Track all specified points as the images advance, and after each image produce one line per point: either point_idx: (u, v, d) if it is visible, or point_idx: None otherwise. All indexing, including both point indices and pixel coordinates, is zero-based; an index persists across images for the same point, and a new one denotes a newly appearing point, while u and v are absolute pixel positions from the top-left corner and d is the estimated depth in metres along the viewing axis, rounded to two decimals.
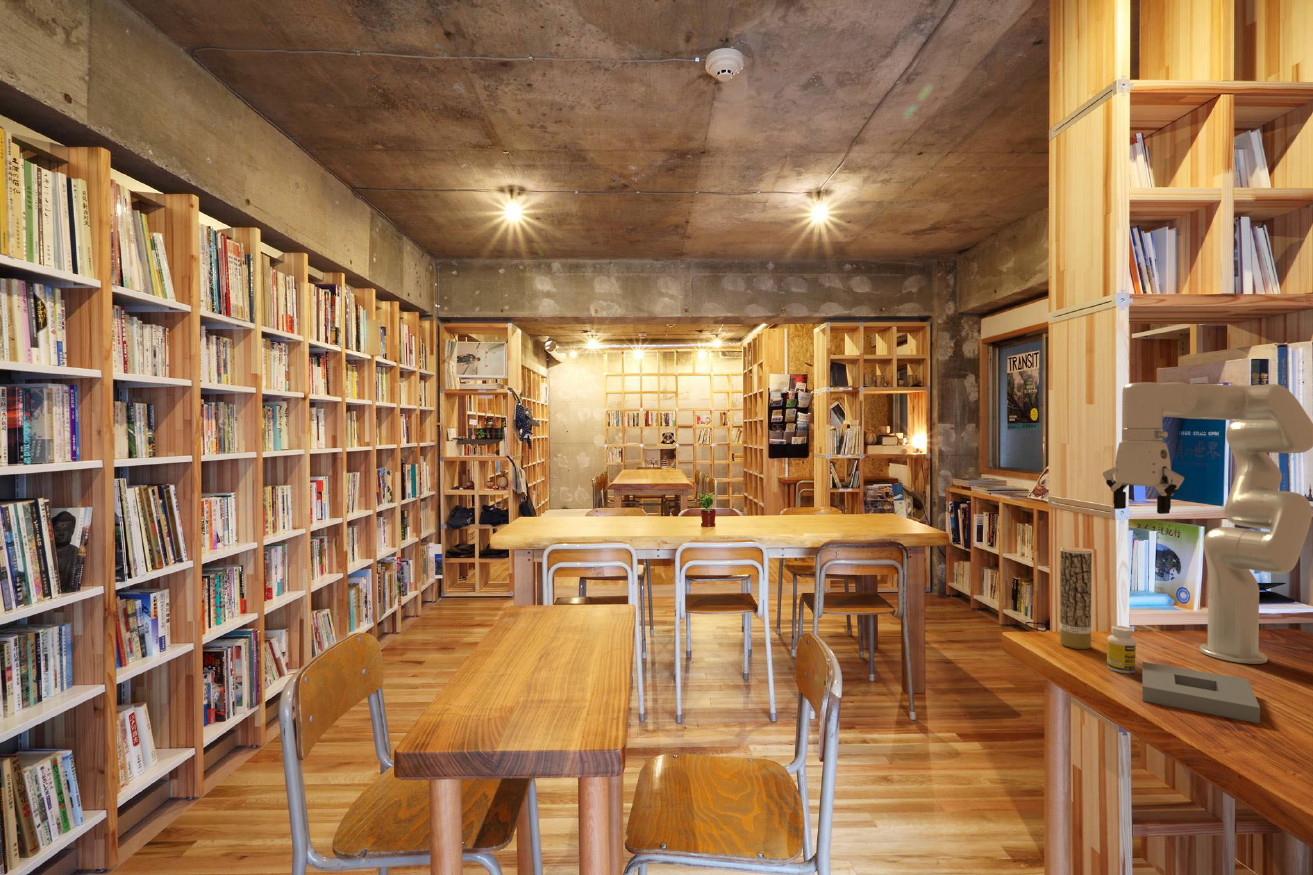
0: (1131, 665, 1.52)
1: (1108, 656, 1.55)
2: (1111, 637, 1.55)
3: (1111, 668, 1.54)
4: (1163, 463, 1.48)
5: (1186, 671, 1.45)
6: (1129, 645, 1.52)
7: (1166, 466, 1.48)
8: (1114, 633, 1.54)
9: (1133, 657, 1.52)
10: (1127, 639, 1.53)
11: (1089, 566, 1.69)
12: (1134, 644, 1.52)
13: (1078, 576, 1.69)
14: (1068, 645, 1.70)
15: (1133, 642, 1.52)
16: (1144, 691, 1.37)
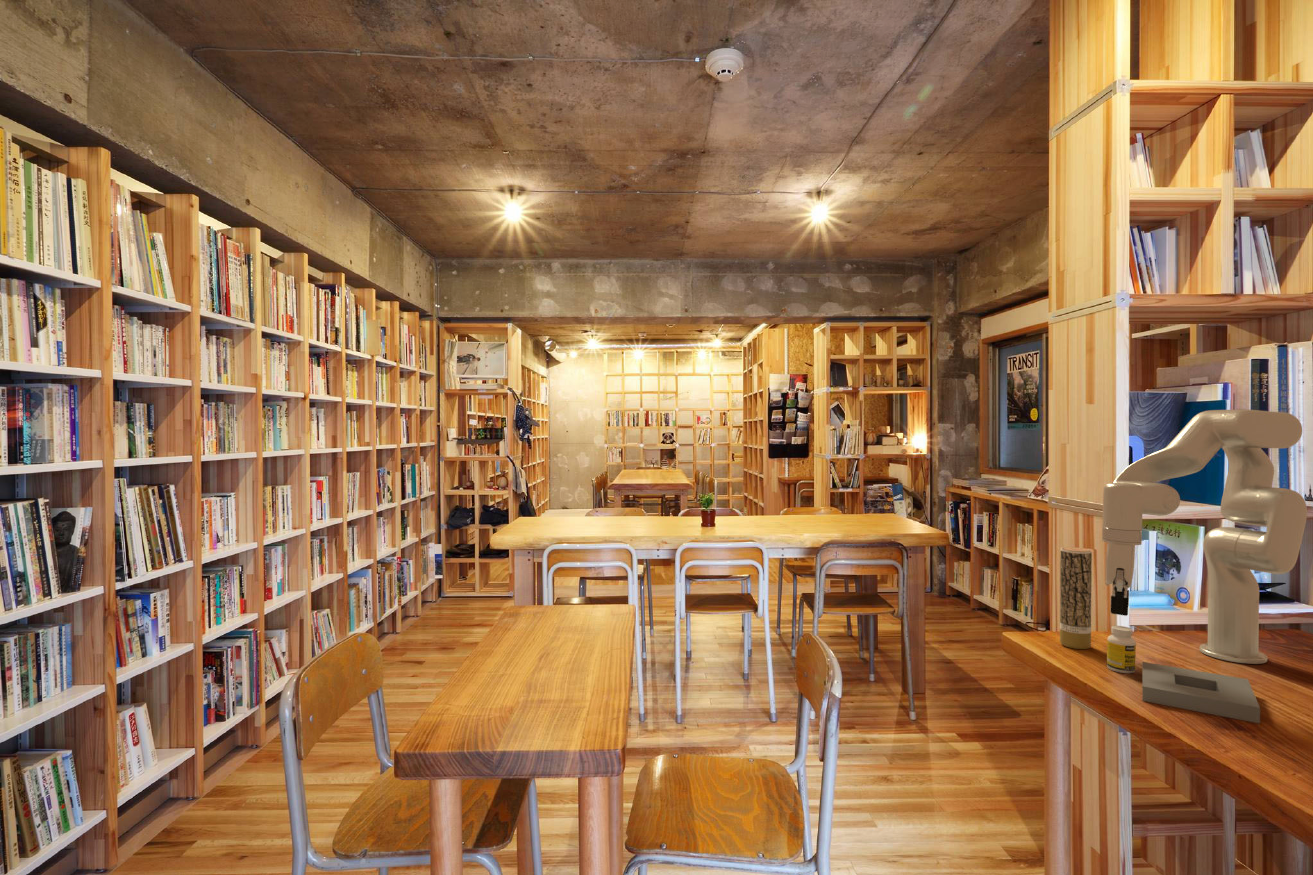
0: (1131, 665, 1.52)
1: (1108, 656, 1.55)
2: (1111, 637, 1.55)
3: (1111, 668, 1.54)
4: None
5: (1186, 671, 1.45)
6: (1129, 645, 1.52)
7: None
8: (1114, 633, 1.54)
9: (1133, 657, 1.52)
10: (1127, 639, 1.53)
11: (1089, 566, 1.69)
12: (1134, 644, 1.52)
13: (1078, 576, 1.69)
14: (1068, 645, 1.70)
15: (1133, 642, 1.52)
16: (1144, 691, 1.37)
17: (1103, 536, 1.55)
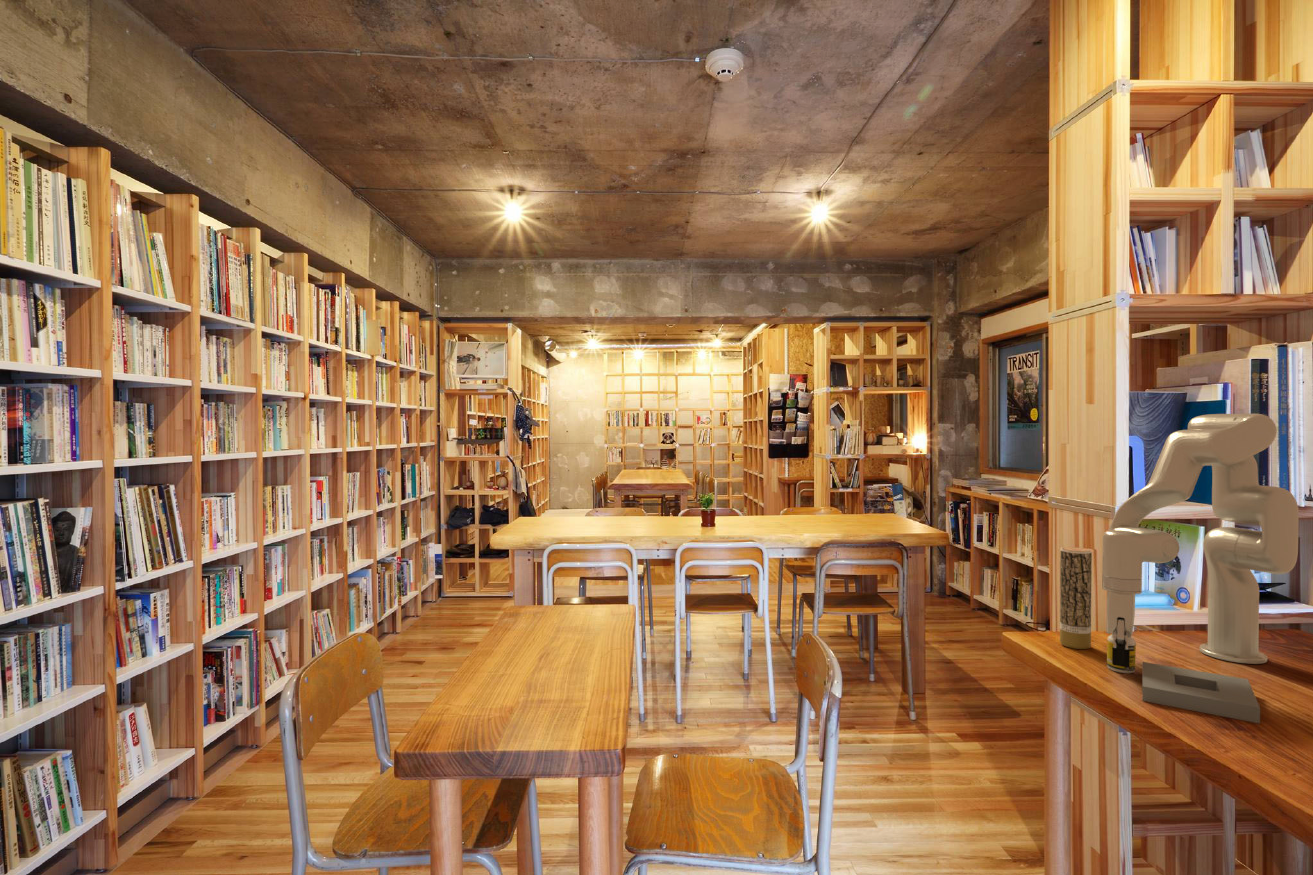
0: (1131, 665, 1.52)
1: (1108, 656, 1.55)
2: (1111, 637, 1.55)
3: (1111, 668, 1.54)
4: None
5: (1186, 671, 1.45)
6: (1129, 645, 1.52)
7: None
8: None
9: (1133, 657, 1.52)
10: None
11: (1089, 566, 1.69)
12: (1134, 644, 1.52)
13: (1078, 576, 1.69)
14: (1068, 645, 1.70)
15: (1133, 642, 1.52)
16: (1144, 691, 1.37)
17: (1103, 584, 1.55)
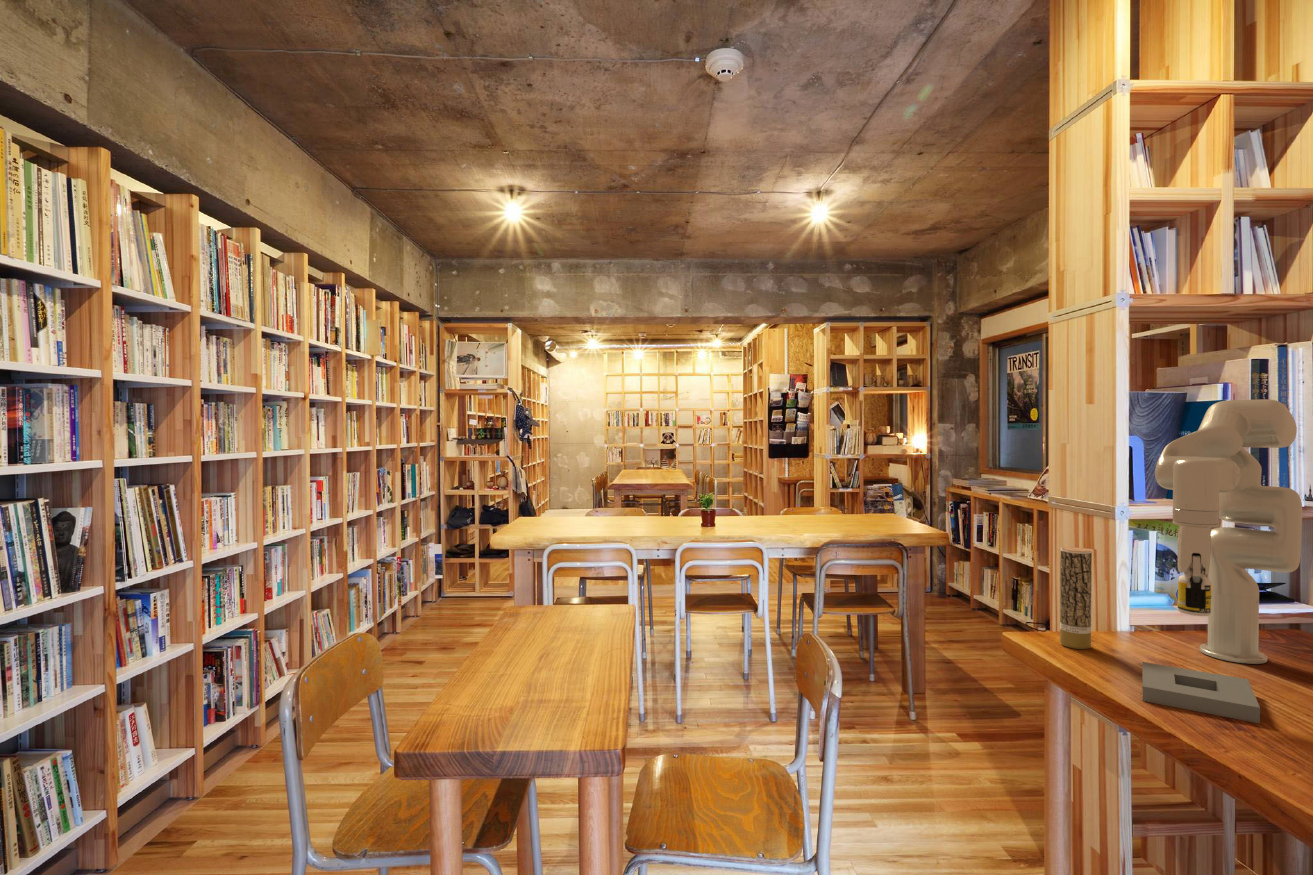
0: (1206, 607, 1.37)
1: (1179, 598, 1.40)
2: (1183, 577, 1.39)
3: (1183, 611, 1.39)
4: None
5: (1186, 671, 1.45)
6: (1204, 584, 1.36)
7: None
8: None
9: (1208, 598, 1.37)
10: None
11: (1089, 566, 1.69)
12: (1210, 584, 1.37)
13: (1078, 576, 1.69)
14: (1068, 645, 1.70)
15: (1209, 581, 1.37)
16: (1144, 691, 1.37)
17: (1174, 518, 1.40)
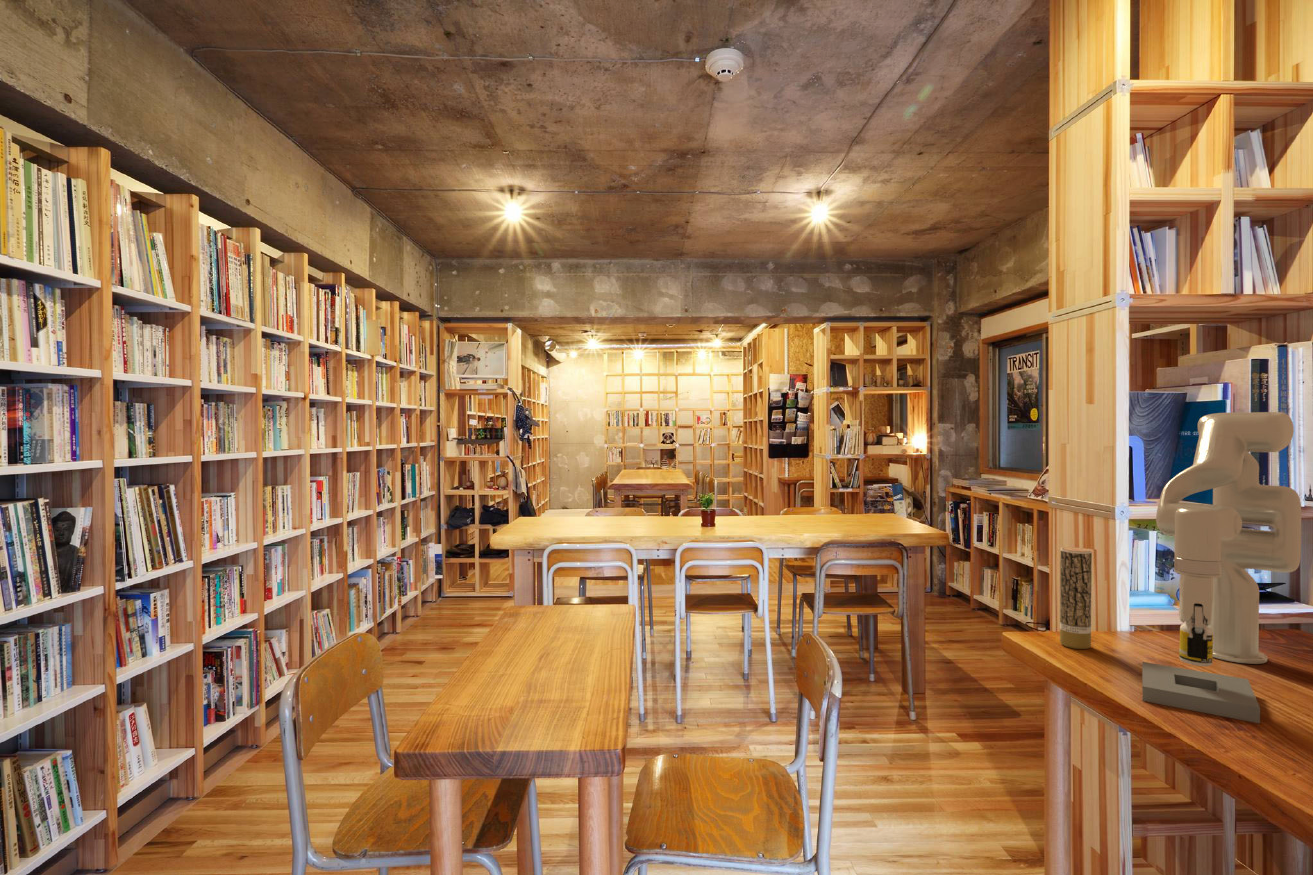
0: (1208, 657, 1.36)
1: (1181, 647, 1.39)
2: (1185, 626, 1.39)
3: (1185, 660, 1.38)
4: None
5: (1186, 671, 1.45)
6: (1206, 634, 1.36)
7: None
8: None
9: (1210, 648, 1.36)
10: None
11: (1089, 566, 1.69)
12: (1212, 633, 1.37)
13: (1078, 576, 1.69)
14: (1068, 645, 1.70)
15: (1210, 631, 1.36)
16: (1144, 691, 1.37)
17: (1176, 567, 1.40)
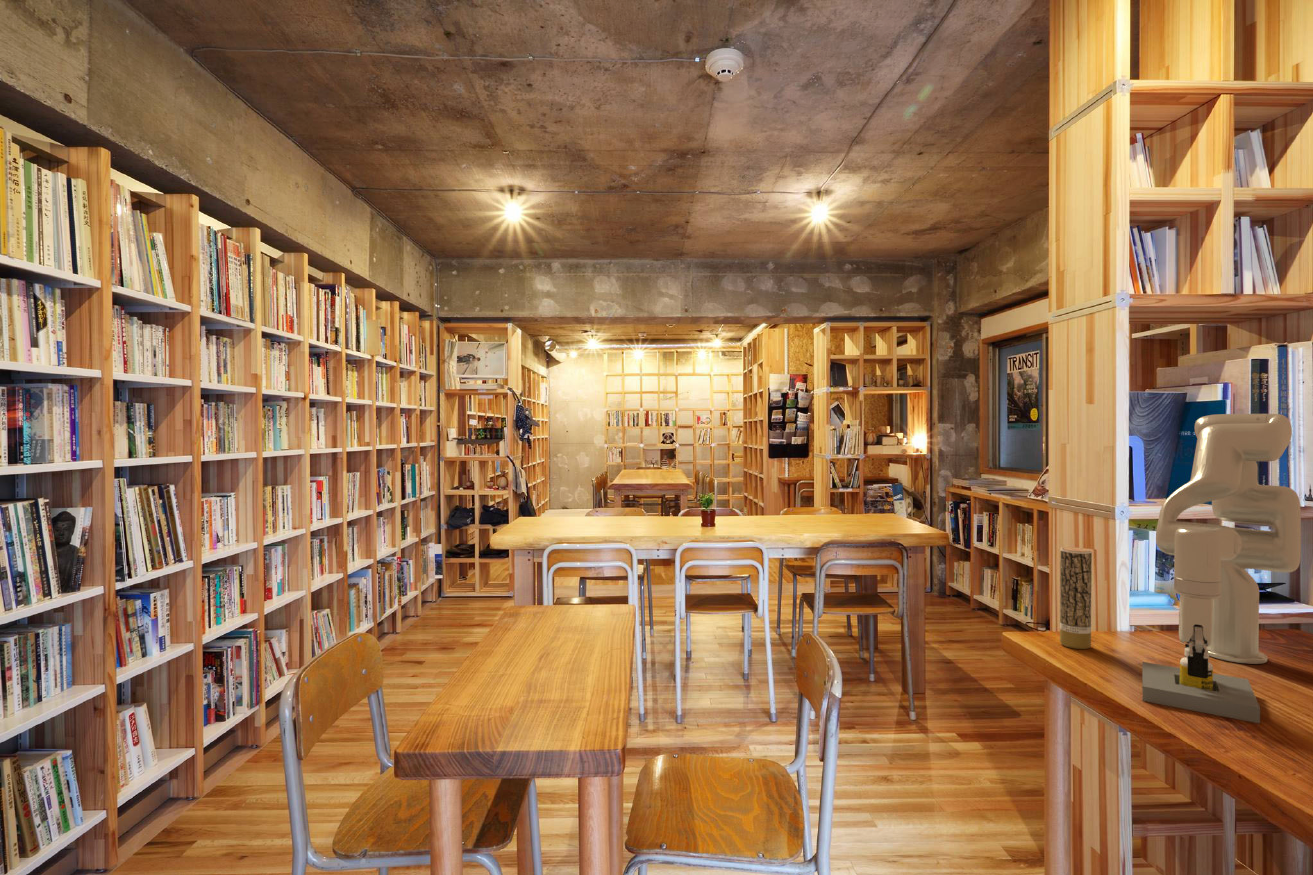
0: None
1: (1181, 681, 1.40)
2: (1185, 660, 1.39)
3: None
4: None
5: None
6: None
7: None
8: None
9: (1210, 683, 1.36)
10: None
11: (1089, 566, 1.69)
12: (1212, 668, 1.37)
13: (1078, 576, 1.69)
14: (1068, 645, 1.70)
15: (1211, 666, 1.37)
16: (1144, 691, 1.37)
17: (1176, 587, 1.40)
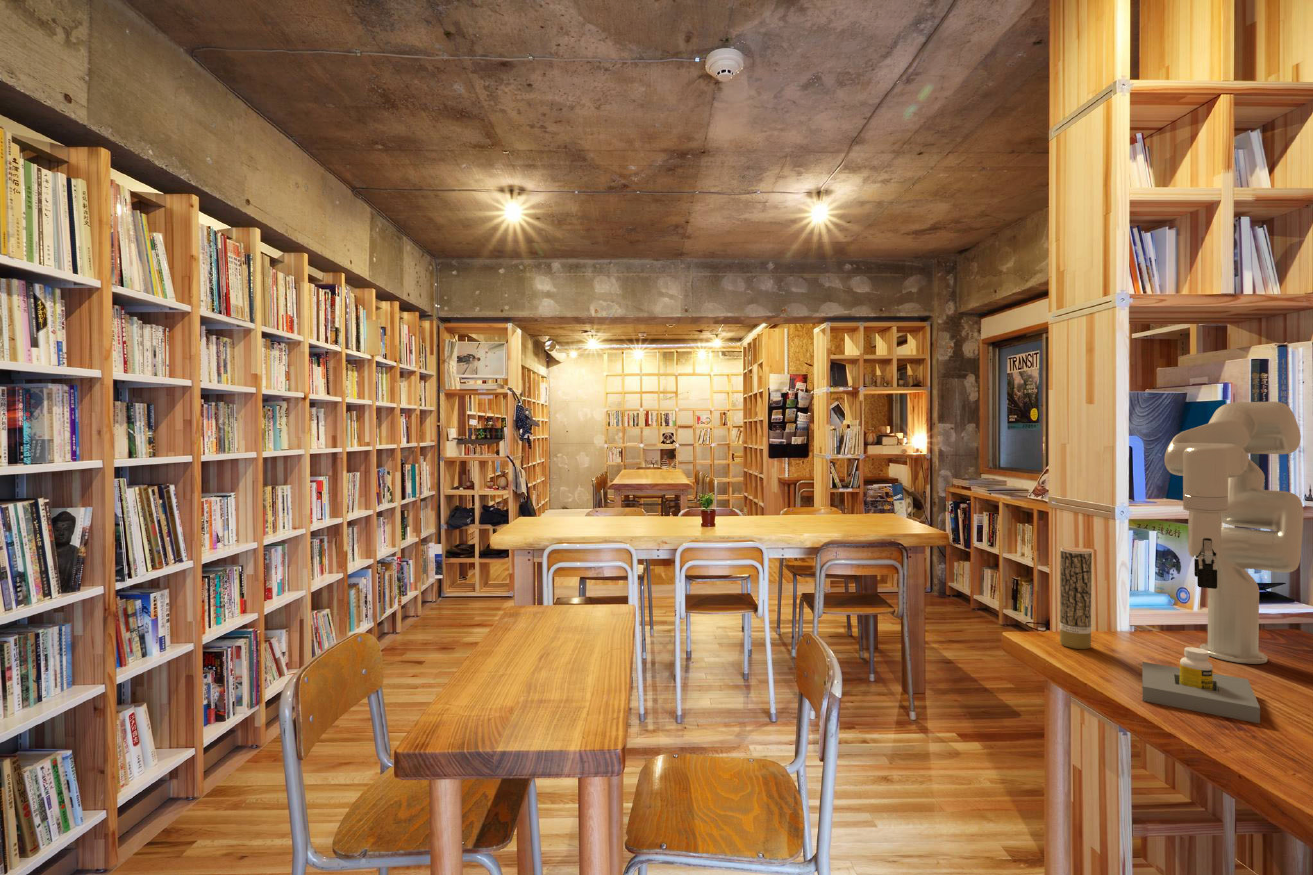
0: None
1: (1181, 681, 1.40)
2: (1184, 660, 1.39)
3: None
4: None
5: None
6: (1206, 669, 1.36)
7: None
8: (1189, 656, 1.39)
9: (1210, 683, 1.37)
10: (1203, 663, 1.37)
11: (1089, 566, 1.69)
12: (1211, 668, 1.37)
13: (1078, 576, 1.69)
14: (1068, 645, 1.70)
15: (1210, 666, 1.37)
16: (1144, 691, 1.37)
17: (1185, 504, 1.44)
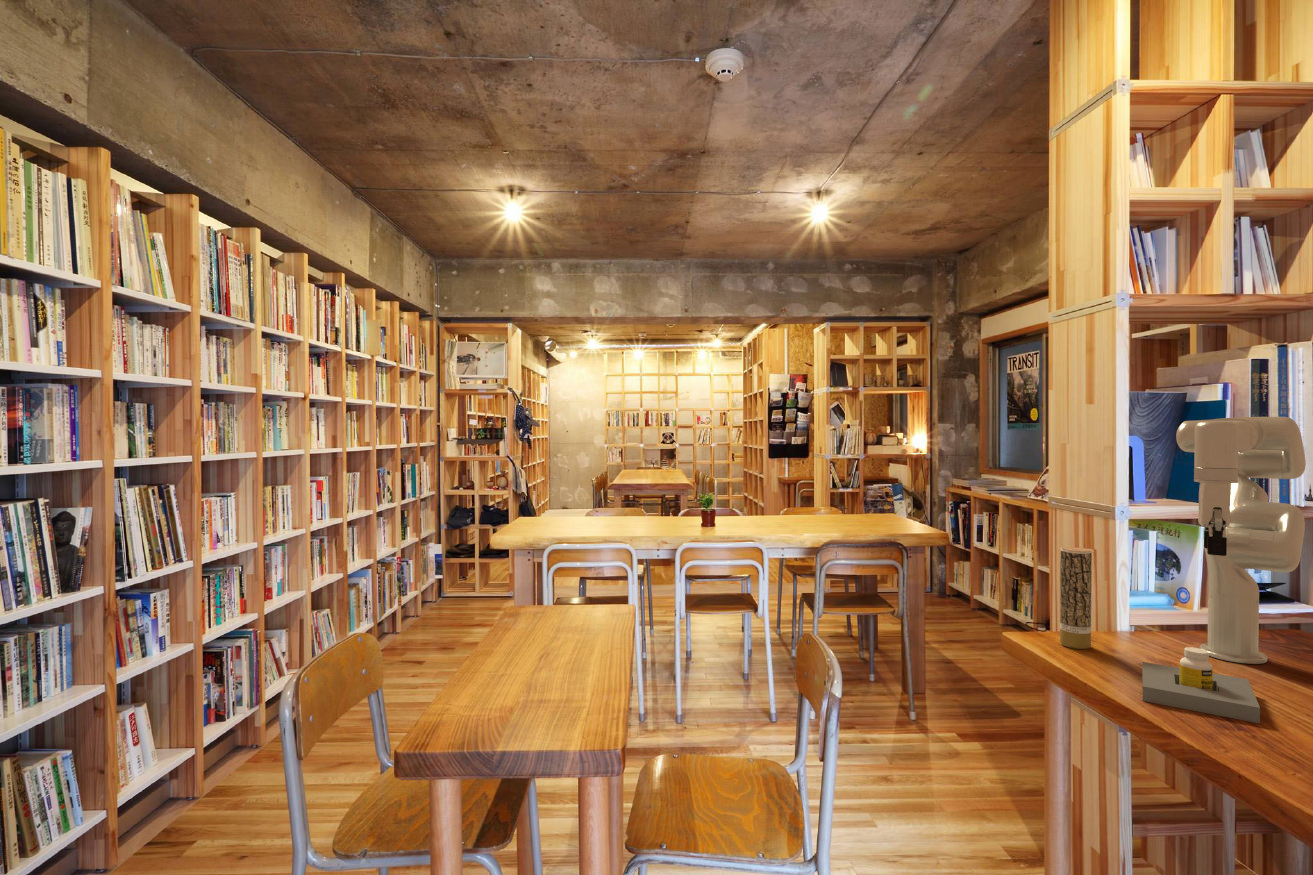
0: None
1: (1181, 681, 1.40)
2: (1184, 660, 1.39)
3: None
4: None
5: None
6: (1206, 669, 1.36)
7: None
8: (1189, 656, 1.39)
9: (1210, 683, 1.37)
10: (1203, 663, 1.37)
11: (1089, 566, 1.69)
12: (1211, 668, 1.37)
13: (1078, 576, 1.69)
14: (1068, 645, 1.70)
15: (1210, 666, 1.37)
16: (1144, 691, 1.37)
17: (1196, 476, 1.51)
